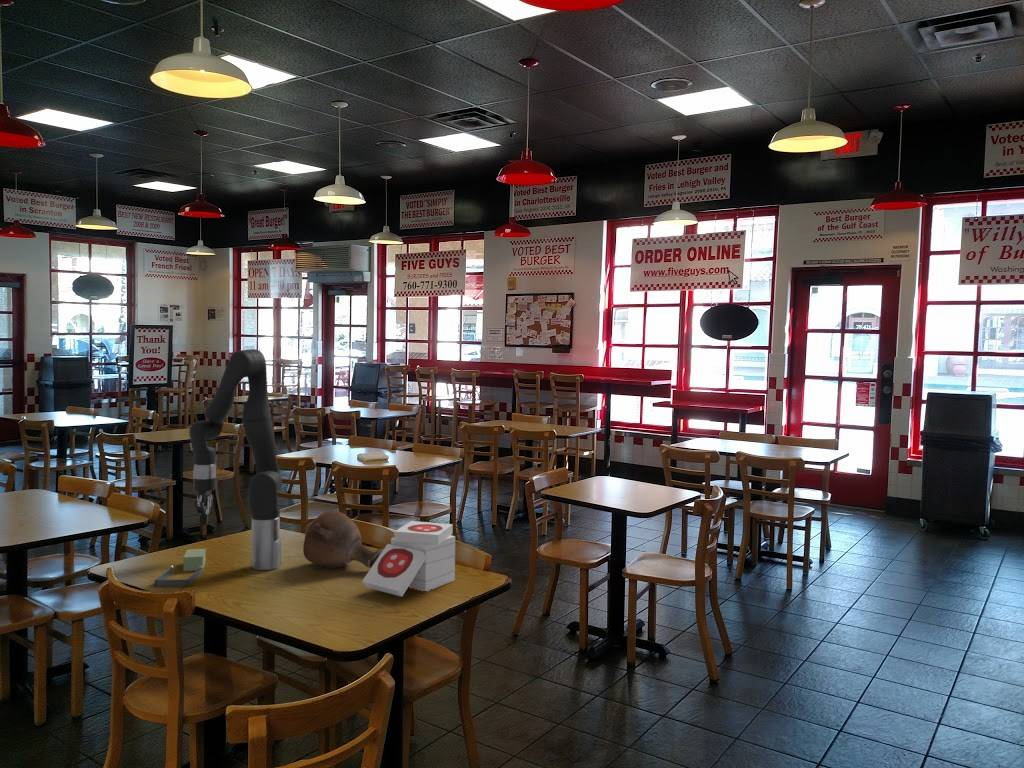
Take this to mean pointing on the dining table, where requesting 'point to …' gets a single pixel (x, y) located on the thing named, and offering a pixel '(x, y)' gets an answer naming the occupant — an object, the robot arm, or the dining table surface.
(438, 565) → the pizza boxes
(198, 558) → the pale green block
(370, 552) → the jug
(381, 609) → the dining table surface
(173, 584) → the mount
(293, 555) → the dining table surface
